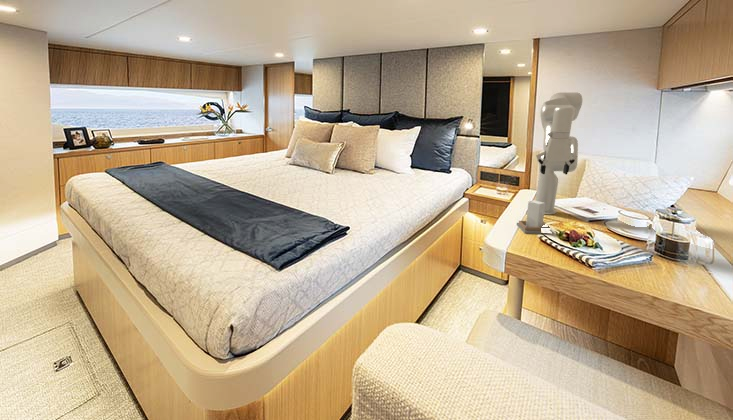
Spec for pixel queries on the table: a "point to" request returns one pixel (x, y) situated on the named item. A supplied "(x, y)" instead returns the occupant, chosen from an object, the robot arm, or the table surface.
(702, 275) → the table surface
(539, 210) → the skincare box
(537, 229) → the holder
